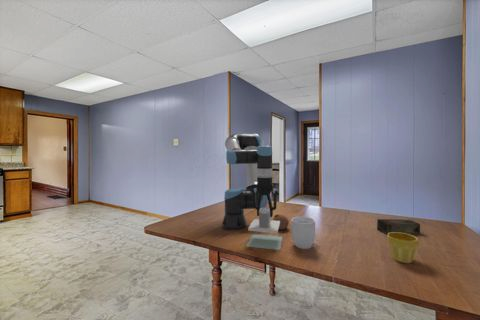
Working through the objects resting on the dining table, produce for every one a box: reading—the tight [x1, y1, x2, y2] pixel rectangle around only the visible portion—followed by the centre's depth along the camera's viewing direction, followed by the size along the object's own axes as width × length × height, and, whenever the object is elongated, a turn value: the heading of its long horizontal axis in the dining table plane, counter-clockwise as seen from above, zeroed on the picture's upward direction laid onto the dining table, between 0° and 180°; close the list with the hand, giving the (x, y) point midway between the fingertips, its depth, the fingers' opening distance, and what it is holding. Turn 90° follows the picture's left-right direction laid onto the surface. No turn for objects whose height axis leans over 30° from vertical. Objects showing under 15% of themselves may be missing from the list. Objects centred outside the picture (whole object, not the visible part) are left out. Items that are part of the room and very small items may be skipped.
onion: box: [272, 213, 290, 231], centre depth 128 cm, size 10×9×10 cm
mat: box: [246, 233, 283, 251], centre depth 111 cm, size 16×16×1 cm
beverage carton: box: [376, 218, 421, 235], centre depth 122 cm, size 8×19×7 cm, turn 88°
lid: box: [247, 207, 280, 234], centre depth 111 cm, size 14×14×8 cm
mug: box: [290, 216, 316, 250], centre depth 106 cm, size 15×11×13 cm
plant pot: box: [386, 232, 419, 264], centre depth 91 cm, size 10×10×10 cm
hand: (264, 222), depth 111 cm, fingers closed on lid, 4 cm apart
